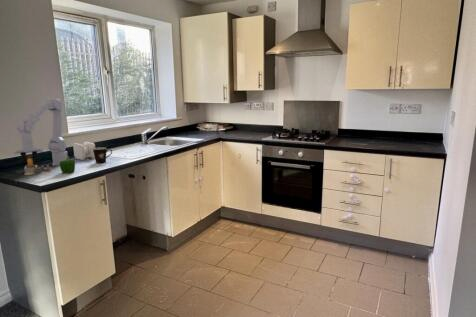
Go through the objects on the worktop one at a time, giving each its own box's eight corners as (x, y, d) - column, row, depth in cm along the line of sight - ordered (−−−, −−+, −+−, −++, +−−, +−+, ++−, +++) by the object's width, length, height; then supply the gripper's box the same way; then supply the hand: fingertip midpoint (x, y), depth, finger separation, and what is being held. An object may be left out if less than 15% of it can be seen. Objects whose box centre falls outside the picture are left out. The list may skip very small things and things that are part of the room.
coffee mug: (92, 164, 220) (91, 149, 218) (96, 161, 229) (94, 147, 227) (110, 163, 222) (109, 149, 220) (113, 160, 231) (112, 147, 228)
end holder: (37, 169, 204) (37, 164, 203) (37, 171, 198) (36, 167, 198) (25, 170, 201) (25, 166, 200) (25, 173, 195) (24, 168, 195)
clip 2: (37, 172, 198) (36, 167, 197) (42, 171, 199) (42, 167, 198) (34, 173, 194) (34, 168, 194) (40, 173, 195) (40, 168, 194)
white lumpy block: (73, 158, 239) (72, 142, 236) (87, 155, 247) (86, 141, 244) (83, 161, 229) (81, 145, 227) (97, 158, 237) (95, 143, 235)
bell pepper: (69, 175, 192) (67, 159, 190) (57, 174, 194) (55, 158, 192) (79, 172, 200) (77, 156, 198) (68, 171, 202) (66, 155, 200)
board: (51, 167, 210) (51, 166, 210) (51, 173, 197) (51, 172, 197) (26, 170, 204) (26, 169, 204) (24, 176, 191) (24, 175, 191)
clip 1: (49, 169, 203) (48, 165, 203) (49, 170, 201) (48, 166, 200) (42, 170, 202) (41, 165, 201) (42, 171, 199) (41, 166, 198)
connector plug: (34, 166, 201) (32, 155, 200) (34, 167, 198) (32, 156, 197) (27, 167, 200) (26, 155, 198) (27, 168, 197) (26, 156, 195)
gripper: (12, 144, 189) (15, 166, 192) (40, 142, 196) (43, 164, 199) (13, 142, 195) (16, 164, 198) (41, 140, 202) (44, 161, 205)
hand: (30, 164), depth 199 cm, fingers closed on connector plug, 3 cm apart
